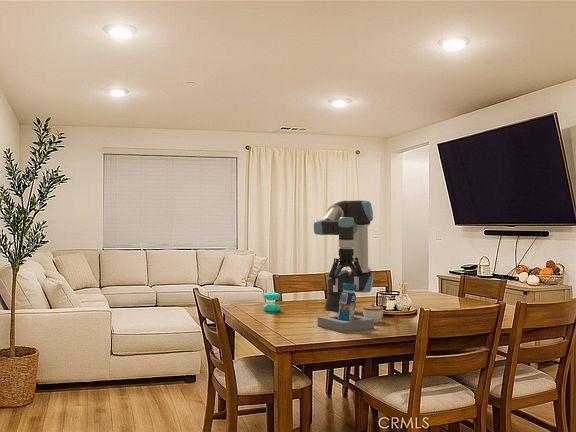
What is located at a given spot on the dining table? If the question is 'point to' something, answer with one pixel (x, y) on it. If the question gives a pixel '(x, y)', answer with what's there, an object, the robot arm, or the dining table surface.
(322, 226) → the robot arm
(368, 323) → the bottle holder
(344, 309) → the beverage bottle
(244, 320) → the dining table surface
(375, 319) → the lidded jar
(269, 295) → the donuts
